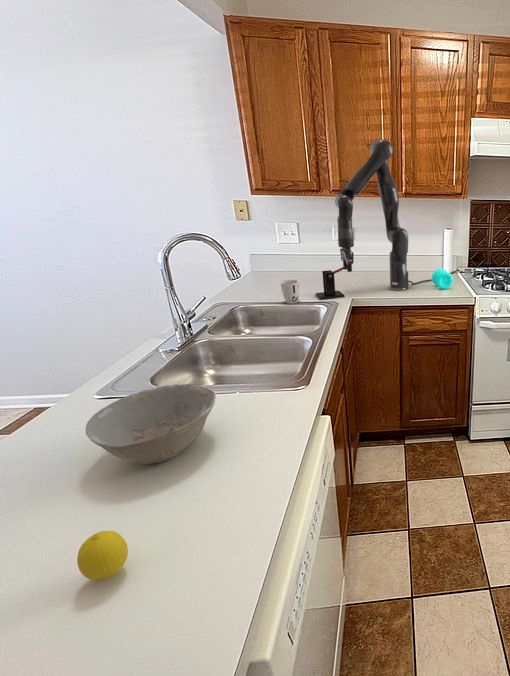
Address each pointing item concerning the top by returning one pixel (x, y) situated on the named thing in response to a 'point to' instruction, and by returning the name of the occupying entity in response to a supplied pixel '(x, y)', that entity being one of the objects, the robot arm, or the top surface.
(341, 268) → the lever
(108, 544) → the lemon
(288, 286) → the cup
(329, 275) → the bracket
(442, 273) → the turquoise rounded cylinder
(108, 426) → the ceramic bowl
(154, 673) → the top surface
